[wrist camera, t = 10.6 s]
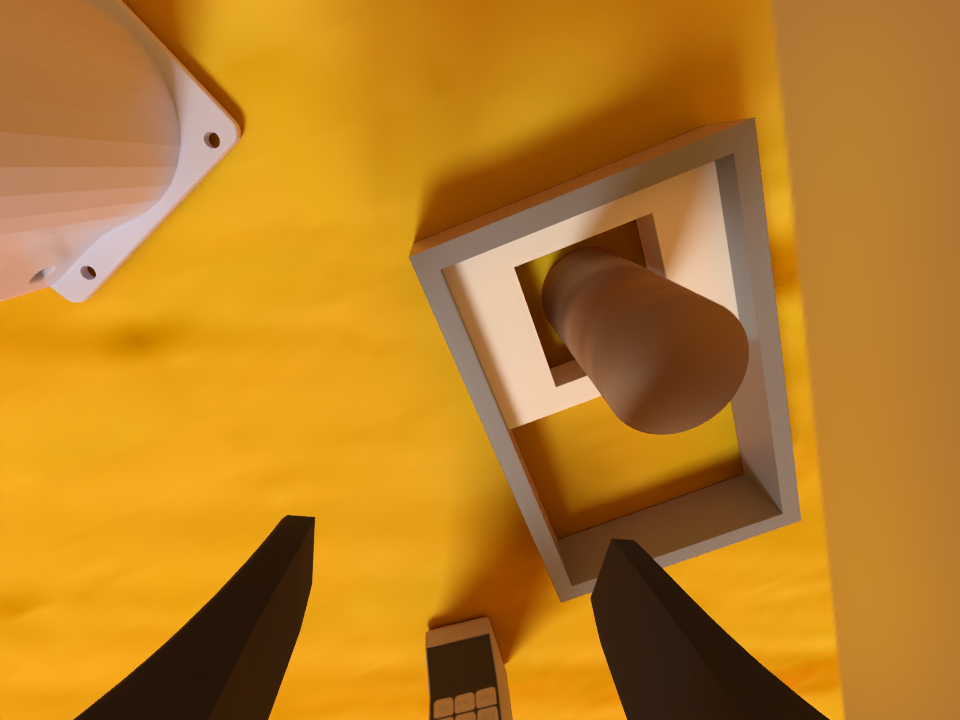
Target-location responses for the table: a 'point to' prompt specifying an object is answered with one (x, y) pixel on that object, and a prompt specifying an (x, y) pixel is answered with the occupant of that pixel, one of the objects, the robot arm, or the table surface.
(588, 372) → the walnut peg
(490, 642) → the vintage mobile phone
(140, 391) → the table surface
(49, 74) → the robot arm
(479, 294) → the grey tray
